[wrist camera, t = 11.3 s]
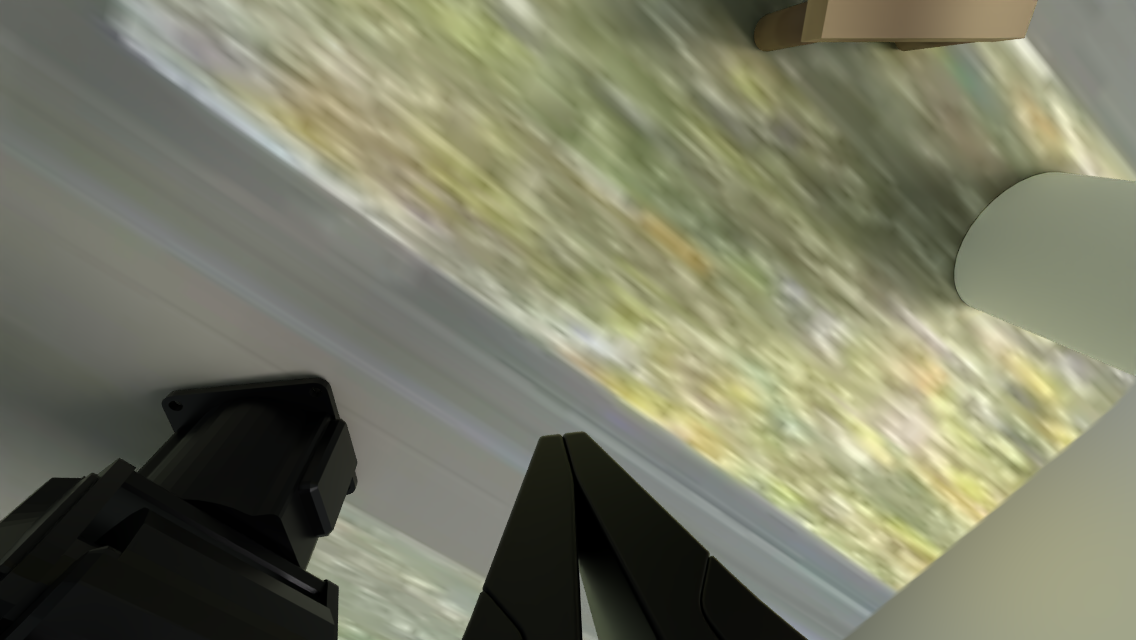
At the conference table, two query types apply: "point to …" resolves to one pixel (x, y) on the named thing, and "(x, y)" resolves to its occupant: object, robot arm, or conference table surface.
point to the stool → (895, 22)
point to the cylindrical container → (1058, 263)
